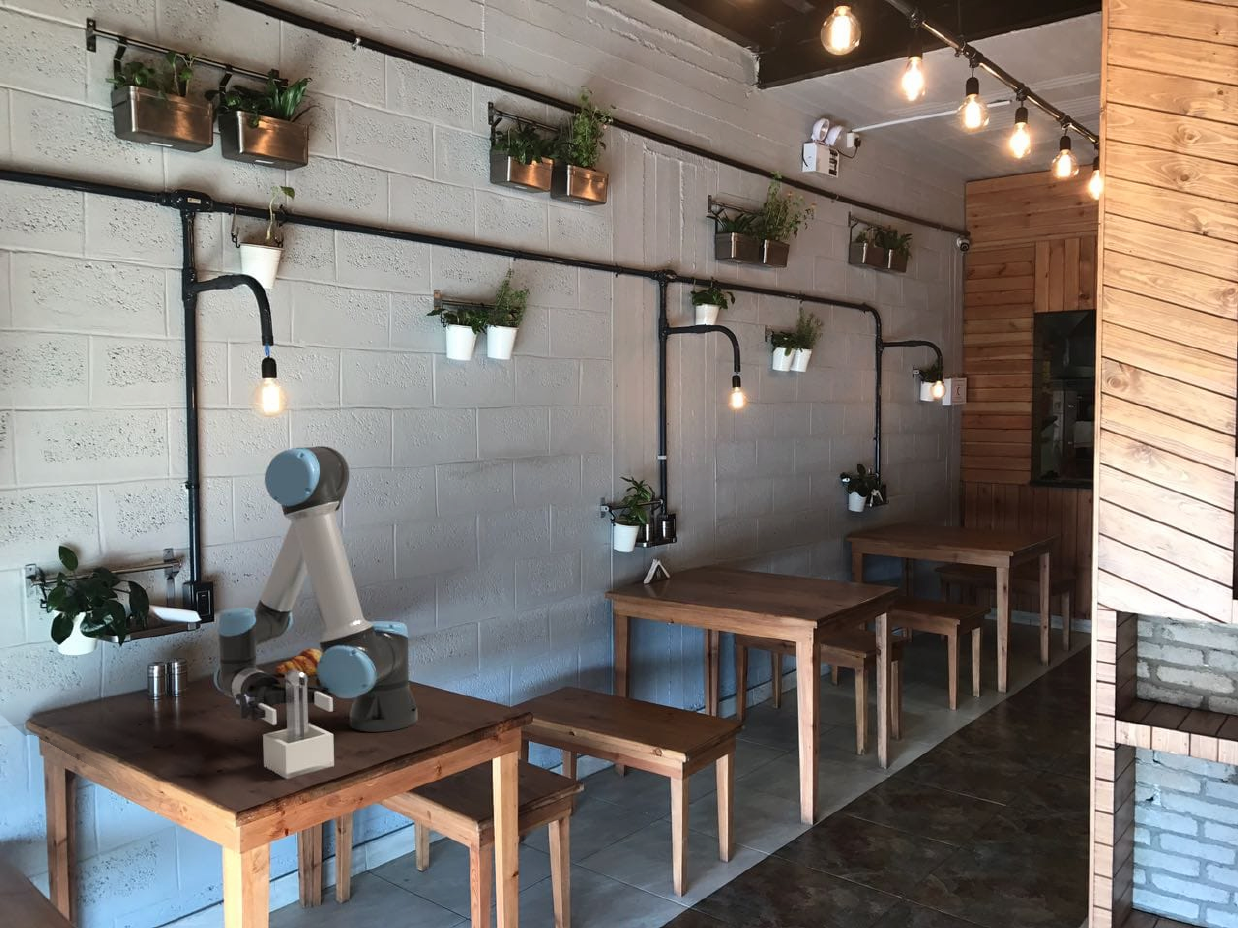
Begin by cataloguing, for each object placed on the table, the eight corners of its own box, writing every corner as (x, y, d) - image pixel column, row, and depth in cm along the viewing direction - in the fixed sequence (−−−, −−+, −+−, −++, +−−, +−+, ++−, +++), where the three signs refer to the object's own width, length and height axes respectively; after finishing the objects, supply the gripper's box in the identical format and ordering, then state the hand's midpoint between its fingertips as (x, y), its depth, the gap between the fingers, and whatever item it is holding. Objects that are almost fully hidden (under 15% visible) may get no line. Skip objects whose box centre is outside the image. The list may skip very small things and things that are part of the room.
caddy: (310, 753, 207) (309, 723, 207) (334, 765, 200) (333, 733, 200) (264, 766, 200) (263, 734, 200) (286, 778, 193) (285, 745, 193)
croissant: (350, 676, 282) (346, 648, 285) (361, 666, 274) (356, 638, 277) (274, 686, 270) (270, 658, 273) (282, 676, 263) (278, 647, 265)
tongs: (301, 756, 203) (298, 667, 202) (312, 762, 199) (310, 672, 198) (287, 760, 201) (284, 670, 200) (298, 766, 197) (295, 675, 196)
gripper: (309, 695, 221) (358, 716, 205) (201, 718, 205) (245, 743, 189) (308, 661, 220) (357, 680, 204) (200, 682, 204) (243, 704, 188)
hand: (303, 710), depth 196 cm, fingers open, 11 cm apart
